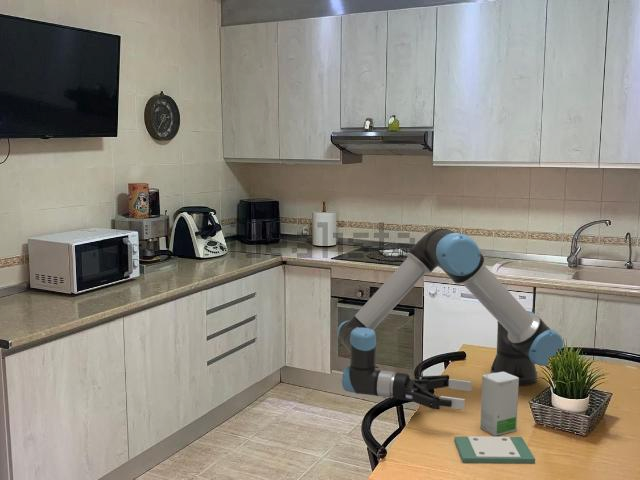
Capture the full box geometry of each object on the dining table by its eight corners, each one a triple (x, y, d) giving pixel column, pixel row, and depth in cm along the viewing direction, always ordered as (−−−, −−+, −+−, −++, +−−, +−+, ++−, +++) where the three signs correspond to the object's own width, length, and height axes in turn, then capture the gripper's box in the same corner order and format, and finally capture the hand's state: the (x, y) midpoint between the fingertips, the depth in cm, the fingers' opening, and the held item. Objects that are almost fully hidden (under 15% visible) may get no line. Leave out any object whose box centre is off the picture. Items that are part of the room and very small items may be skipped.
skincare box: (494, 437, 178) (497, 382, 175) (478, 427, 183) (480, 374, 181) (517, 430, 181) (520, 377, 179) (501, 421, 187) (503, 369, 185)
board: (462, 462, 164) (463, 457, 164) (454, 440, 176) (454, 435, 175) (534, 463, 163) (535, 457, 163) (521, 441, 175) (521, 435, 175)
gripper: (404, 382, 203) (473, 391, 196) (383, 414, 180) (460, 425, 173) (404, 359, 202) (474, 367, 195) (383, 388, 179) (461, 399, 172)
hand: (468, 395), depth 184 cm, fingers open, 13 cm apart
